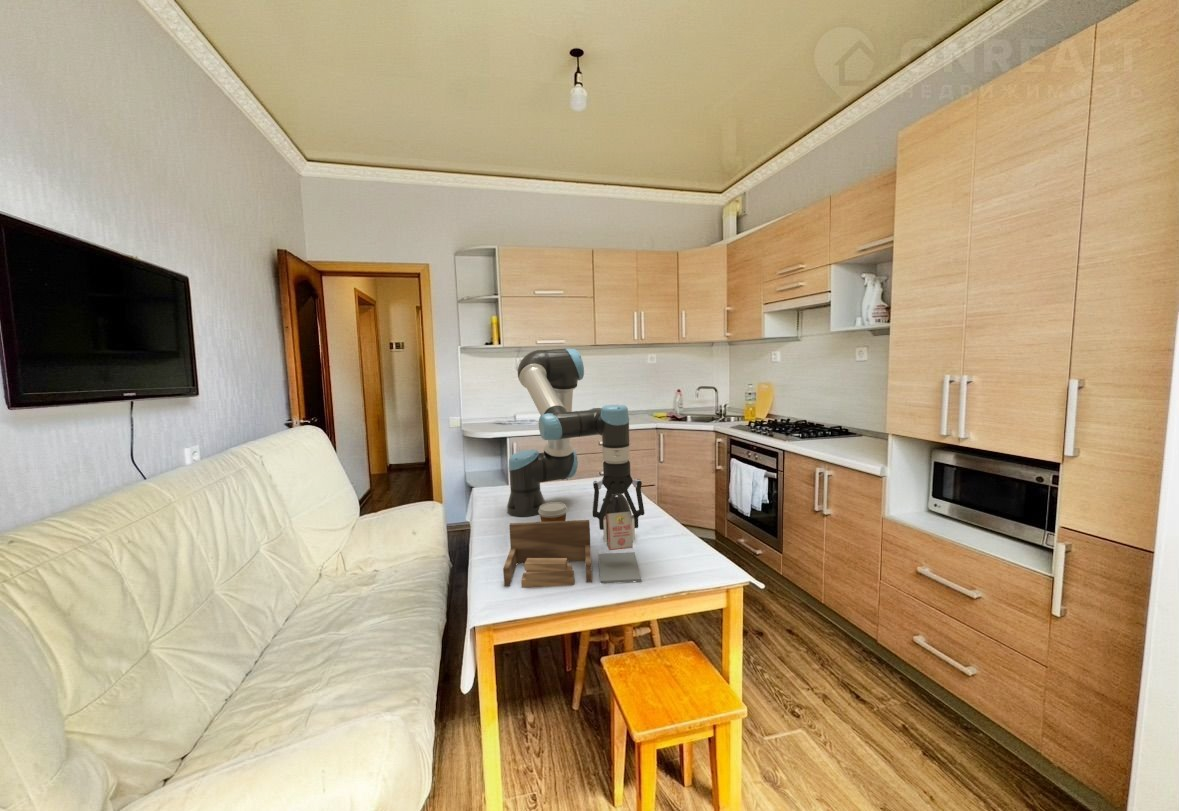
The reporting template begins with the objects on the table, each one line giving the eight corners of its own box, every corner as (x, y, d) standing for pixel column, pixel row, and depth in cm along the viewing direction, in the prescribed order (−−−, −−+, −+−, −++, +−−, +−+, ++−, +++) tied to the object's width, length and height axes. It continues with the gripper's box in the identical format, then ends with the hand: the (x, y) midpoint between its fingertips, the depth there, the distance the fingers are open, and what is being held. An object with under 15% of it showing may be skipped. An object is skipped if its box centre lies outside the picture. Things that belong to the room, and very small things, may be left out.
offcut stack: (523, 578, 123) (522, 558, 122) (574, 576, 123) (573, 555, 122) (521, 588, 118) (520, 566, 117) (574, 585, 118) (573, 564, 117)
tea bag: (606, 545, 128) (605, 511, 127) (629, 542, 129) (628, 509, 128) (609, 550, 125) (607, 516, 123) (632, 547, 126) (631, 513, 124)
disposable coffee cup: (564, 548, 141) (563, 512, 139) (536, 547, 143) (534, 511, 141) (572, 536, 150) (570, 501, 149) (544, 535, 152) (543, 501, 151)
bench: (512, 561, 133) (510, 523, 132) (590, 558, 134) (589, 519, 132) (504, 586, 120) (501, 543, 118) (591, 582, 120) (590, 539, 118)
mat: (598, 556, 135) (598, 553, 135) (634, 554, 135) (634, 552, 135) (600, 583, 119) (600, 580, 119) (641, 581, 119) (641, 578, 119)
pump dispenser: (596, 535, 150) (594, 492, 148) (622, 528, 155) (621, 486, 153) (613, 546, 141) (611, 500, 139) (639, 539, 146) (638, 494, 144)
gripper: (580, 465, 120) (583, 546, 123) (654, 462, 120) (656, 543, 123) (580, 459, 128) (583, 535, 130) (650, 455, 128) (652, 532, 131)
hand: (619, 539), depth 127 cm, fingers closed on tea bag, 7 cm apart
